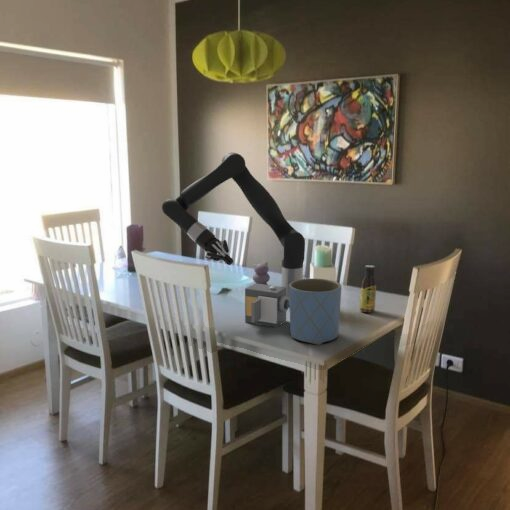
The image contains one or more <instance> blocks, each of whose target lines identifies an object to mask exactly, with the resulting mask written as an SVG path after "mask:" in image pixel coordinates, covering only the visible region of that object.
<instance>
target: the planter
mask: <svg viewBox="0 0 510 510" xmlns="http://www.w3.org/2000/svg"><path fill="white" fill-rule="evenodd" d="M341 297H342V284H341V283H339V282H337V281H335V280H332V279H331V280H330V279H326V278H325V279H324V278H303V279H300V280H296V281H293V282H291V283H290V284H289V299H290V307H289V325H290V326H289V327H290V328H289V329H290V338H293V339H295V340H297V341H301V342H305V343H309V344H314V345H318V346H319V345H322V344H323V343H326V342H330V341H333V340H335V339H336V338H338V336H339V329H340V316H341V314H340V313H341V299H342V298H341Z"/></svg>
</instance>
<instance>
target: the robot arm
mask: <svg viewBox="0 0 510 510" xmlns="http://www.w3.org/2000/svg"><path fill="white" fill-rule="evenodd" d="M230 179H232V180H233V181H234V182H235V184H237V186H238V187H239V189H240V190H241V192H242V193H243V195H244V197H245V198H246V200H247V201H248V203H249V204H250V205H251V207H252V208H253V210H254V211H255V212H256V213H257V214H258V216H259V217H260V218H261V220H263V221H264V222H265V224H267V225H268V226H269V228H271V230H272V231H273V233H274V234H275V236H276V237H277V238H278V241H279V242H280V244H281V246H282V247H283V259H282V260H281V287H286V297H288V298H289V284H290V283H291V282H293V281H296V280H300V279H304V277H303V275H304V274H303V273H304V272H303V271H304V267H303V266H304V261H305V252H306V251H305V250H306V249H305V247H306V246H305V245H306V242H305V237H304V236H303V234H302V233H300V232H298V231H297V230H296V229H295V228H294V227H293V226H292V225H291V224H290V223H289V222H288V220H287V219H286V218H285V217H284V215H283V213H282V211H281V209H280V207H279V205H278V203H277V201H276V200H275V199H274V197H273V196H272V195H271V193H270V192H269V191H268V190H267V189H266V187H264V186H263V185H262V184H261V183H260V181H259V180H257V178H255V176H254V175H252V173H251V171H250V170H249V169H248V167H247V165H246V160H245V158H244V157H243V155H242V154H239V153H236V152H227V153H226V154H225V155H223V157H222V159H221V163H220V164H219V165H218V166H216V168H215V169H213V170H211V171H210V172H209V173H208V174H206V175H204V176H202V177H200V178H199V179H197V180H196V181H194V182H192V183H191V184H190V185H188V186H187V187H185V188H184V189H183V190H182V191H181V192H180V193H179V194H180V195H179V196H177V198H175V199H172V198H169V199H166V200H164V201H163V203H162V207H161V209H162V212H163V214H164V215H165V216H167V217H168V218H169V219H170V220H171V221H173V222H174V223H175V224H176V225H177V226H178V227H179V228H180V229H181V231H183V232H184V233H185V234H187V236H188V237H189V238H190V239H191V240H192V241H193V242H194V243H195V244H196V245H197V246H199V247H200V248H201V249H202V250H204V252H205V253H206V254H205V259H209V260H213V261H216V262H219V261H223V262H224V263H225V264H226V265H228V266H231V265H233V263H234V259H233V258H232V257H231V256H230V255H229V252H230V248H229V245H228V241H227V239H223V240H220V239H218V238H217V237H216V235H215V234H214V233H212V231H210V229H208V228H207V227H206V226H205V225H204V224H203V223H201V222H200V221H198V219H197V218H196V217H195V216H193V215H192V214H190V213H189V212H188V211H187V210H188V209H190V207H192V206H193V205H194V204H195V203H197V202H198V201H199V200H201V199H202V198H204V197H205V196H207V195H208V194H209V193H210V192H212V191H213V190H214V189H216V188H217V187H218V186H220V185H222V184H223V183H226V181H228V180H230ZM289 308H290V299H289Z"/></svg>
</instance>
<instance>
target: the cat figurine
mask: <svg viewBox="0 0 510 510" xmlns="http://www.w3.org/2000/svg"><path fill="white" fill-rule="evenodd" d="M268 263H269V262H268V261H267V262H265V263H262V262H261V263H257V264H256V263H252V265H253V266H254V269H253V270H254V274H253V276H252V280H253V282H254V283H257V284H264V285H269V284H268V282H269V281H270V275H269V273H268V272H269V270H270V269H269V266H268Z"/></svg>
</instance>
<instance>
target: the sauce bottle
mask: <svg viewBox="0 0 510 510" xmlns="http://www.w3.org/2000/svg"><path fill="white" fill-rule="evenodd" d="M375 270H376V266H375V265H372V264H371V265H367V264H366V265H365V267H364V277H363V279H362V281H361V286H360V287H361V289H360V299H359V308H360V309H359V311H360V310H361V311H362V312H361V311H360V312H361V313H363V312H372V313H374V312H375V310H376V309H375V308H376V297H377V284H376V280H375ZM373 311H374V312H373Z"/></svg>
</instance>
